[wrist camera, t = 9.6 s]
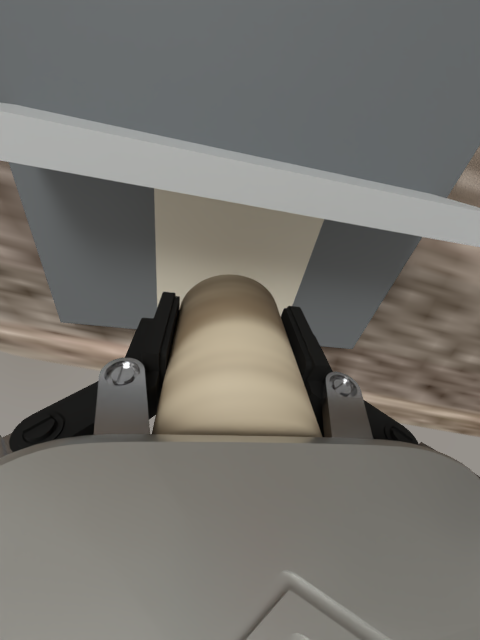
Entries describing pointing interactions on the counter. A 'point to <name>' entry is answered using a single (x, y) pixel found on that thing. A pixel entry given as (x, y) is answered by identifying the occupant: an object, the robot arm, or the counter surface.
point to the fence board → (238, 147)
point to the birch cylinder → (232, 367)
